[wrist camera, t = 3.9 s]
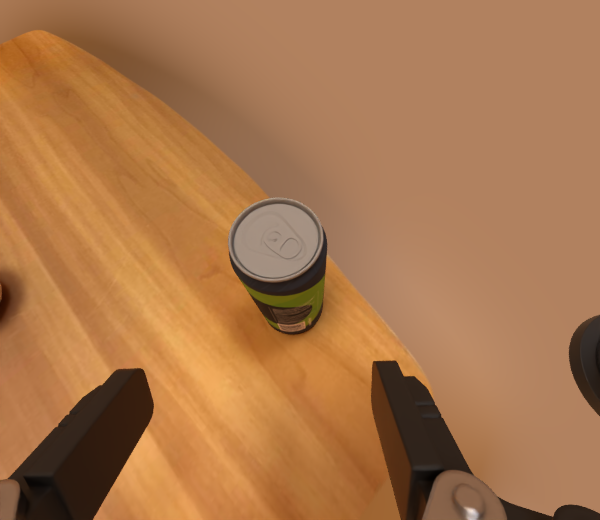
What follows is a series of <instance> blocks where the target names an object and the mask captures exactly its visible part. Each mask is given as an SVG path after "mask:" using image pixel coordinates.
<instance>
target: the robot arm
mask: <svg viewBox="0 0 600 520" xmlns="http://www.w3.org/2000/svg"><path fill="white" fill-rule="evenodd" d="M596 361H597V367H598V370H599V373H600V340H599V342H598V344H597V349H596ZM371 402H372V410H373V415H374V419H375V423H376V427H377V431H378V434H379V438H380V442H381V446H382V449H383V453H384V457H385V461H386V465H387V468H388V472H389V476H390V480H391V483H392V487H393V491H394V495H395V499H396V502H397V506H398V510H399V514H400V517H401V520H600V514H599V513H597V512H595V511H593V510H591V509H588V508H586V507H582V506H578V505H564V506H561V507H560V508H558V509H557V510H556V512H555V513H554V516H553V517H552V516H548V515H545V514H542V513H538V512H536V511H532V510H529V509H526V508H523V507H520V506H516V505H514V504H511V503H509V502H506V501H504V500H502V499H501V498H499V497H497V496H496V494H495V493H494V492H493V491H492V490H491V489H490V488H489V487H488V486H487V485H486V484H485V483H484V482H483V481H481V480H480V479H478V478H477V477H475V476H474V475H473V473H472V472H471V470H470V469H469V467H468V465H467V463H466V461H465V459H464V458H463V455H462V454H461V452H460V450H459V448H458V446H457V444H456V442H455V440H454V438H453V436H452V435H451V433H450V431H449V429H448V427H447V425H446V424H445V421H444V419H443V418H442V417H441V414H440V412H439V410H438V408H437V406H436V405H435V402H434V400H433V398H432V397H431V395H430V393H429V391H428V389H427V388H426V387H425V386H424V385H423V384H422V383H421V382H420V381H419V380H418V379H417V378H416V377H415V376H408V377H404V376H403V374H402V372H401V370H400V367H399V365H398V363H397V362H396V361H374V362H373V365H372V389H371ZM153 409H154V403H153V399H152V395H151V392H150V388H149V385H148V382H147V378H146V375H145V372H144V370H143V369H141V368H135V369H118V370H116V371H115V372H114V373H113V374H112V375H111V376H110V377H109V378H108V379H107V380H106V382H105V383H104V384H103V385H100V386H98V387H97V388H95V389H94V390H93V391H91V392H90V393H88V394H87V395H86V396H84V397H83V398H82V399H81V400H80V401H79V402H78V403H77V404H76V405H75V407H74V408H73V409H72V410H71V411H70V413H69V415H66V416H65V417H64V419H63V420H62V421H61V422H60V423H59V425H58V427H55V428H54V429H53V431H52V432H51V433H50V434H49V435H48V436H47V437H46V438H45V439H44V440H43V441H42V442H41V444H40V445H39V446H38V447H37V448H36V449H35V450H34V451H33V452H32V453H31V454H30V456H29V457H28V458H27V459H26V460H25V461H24V462H23V463H22V464H21V465H20V466H19V468H18V469H17V470H16V471H15V472H14V473H13V474H12V475H11V476H10V477H9V478H8V479H4V480H0V520H93V518H94V516H95V515H96V513H97V511H98V510H99V508H100V506H101V504H102V503H103V501H104V499H105V498H106V496H107V494H108V492H109V491H110V489H111V487H112V486H113V484H114V482H115V480H116V479H117V477H118V475H119V474H120V472H121V470H122V468H123V467H124V465H125V463H126V462H127V460H128V458H129V456H130V455H131V453H132V451H133V450H134V448H135V446H136V444H137V443H138V441H139V439H140V438H141V436H142V434H143V432H144V431H145V429H146V427H147V426H148V424H149V422H150V420H151V418H152V414H153Z"/></svg>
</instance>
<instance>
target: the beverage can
mask: <svg viewBox="0 0 600 520" xmlns="http://www.w3.org/2000/svg"><path fill="white" fill-rule="evenodd" d="M228 247H229V256H230V261H231V265H232V267H233V269H234V271H235V273H236V274H237V276H238V277H239V279H240V280H241V282H242V283H243V285H244V286H245V288H246V289H247V291H248V292H249V294H250V296H251V297H252V299H253V300H254V302H255V303H256V305H257V306H258V308H259V309H260V311H261V312H262V314H263V315H264V317H265V318H266V320H267V321H268V323H269V324H270V325H271V326H272V327H273V328H274V329H276V330H277V331H279V332H282V333H285V334H299V333H303V332H305V331H307V330H309V329H310V328H311V327H313V326H314V325H315V324H316V322H317V321H318V319H319V318H320V315H321V312H322V307H323V295H324V282H325V269H326V256H327V239H326V235H325V232H324V229H323V227H322V226H321V223H320V221H319V219H318V217H317V216H316V214H315V213H314V212H313V211H312V210H311V209H310V208H309V207H307V206H306V205H304V204H302V203H301V202H298V201H295V200H292V199H288V198H269V199H265V200H261V201H259V202H256V203H254V204H252V205H251V206H249V207H247V208H246V209H245V210H244V211H243V212H241V213H240V214H239V216H238V217H237V218H236V220H235V221H234V223H233V225H232V227H231V229H230V232H229V238H228Z"/></svg>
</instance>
